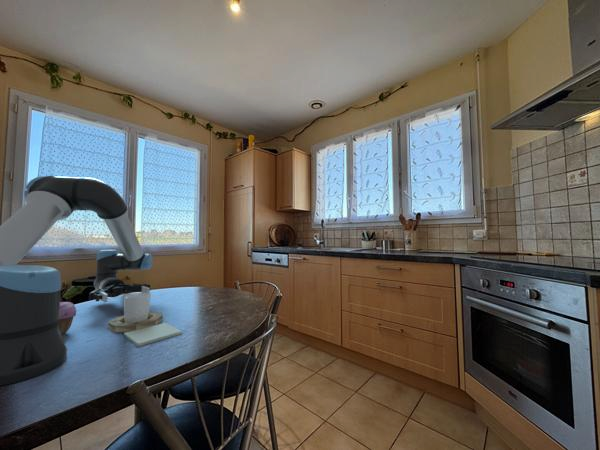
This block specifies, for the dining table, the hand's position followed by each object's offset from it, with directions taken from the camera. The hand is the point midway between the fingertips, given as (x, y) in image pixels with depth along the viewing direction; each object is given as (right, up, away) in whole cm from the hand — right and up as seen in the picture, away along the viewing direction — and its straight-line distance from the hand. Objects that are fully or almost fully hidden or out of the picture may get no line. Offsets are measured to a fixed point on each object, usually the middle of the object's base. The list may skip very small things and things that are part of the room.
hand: (128, 294), depth 93 cm
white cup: (+8, -8, -7) cm, 13 cm away
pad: (+19, -8, -16) cm, 26 cm away
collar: (+8, -8, -7) cm, 13 cm away
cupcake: (-11, -8, -16) cm, 21 cm away
